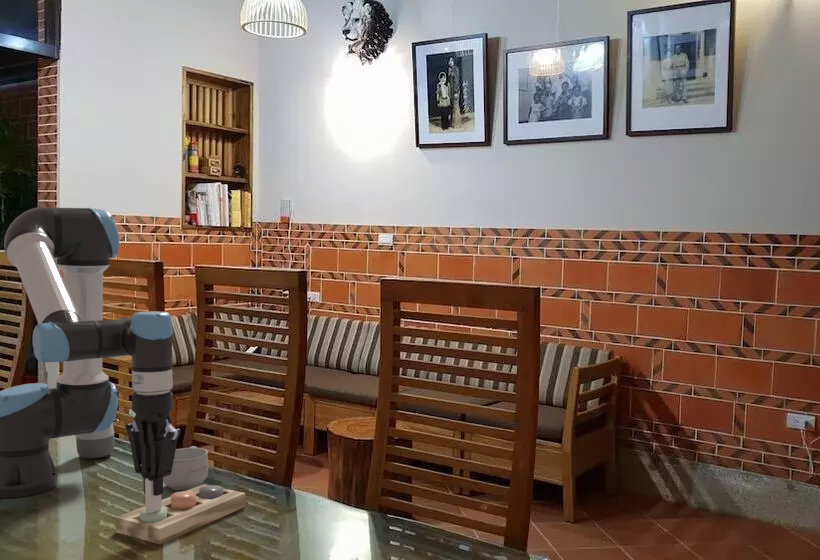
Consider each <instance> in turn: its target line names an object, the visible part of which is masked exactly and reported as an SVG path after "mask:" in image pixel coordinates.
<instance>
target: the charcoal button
mask: <svg viewBox="0 0 820 560" xmlns="http://www.w3.org/2000/svg"><path fill="white" fill-rule="evenodd" d="M223 488H224V487H223V486H221V485H215V484H214V485H211V484H210V486H205V487H202V488H200V489H199V497H202V498H207V499H211V500H212V499H215V498H217V497H220V496H222V495H223Z"/></svg>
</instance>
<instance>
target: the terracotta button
mask: <svg viewBox="0 0 820 560" xmlns="http://www.w3.org/2000/svg"><path fill="white" fill-rule="evenodd" d="M170 497H171V508H173V509H177V510H181V511H185V510H188V509H190V508H192V507H195V506H196V493H195V492H192V491H187V490H180V491H176V492H174V493H172V494H170Z"/></svg>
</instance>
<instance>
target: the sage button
mask: <svg viewBox="0 0 820 560" xmlns="http://www.w3.org/2000/svg"><path fill="white" fill-rule="evenodd" d="M165 518H167V509H165V508H162V509H160V510H158V511H155V512H153V513H148V512H145V509H144V510H142V511H141V512H140V521H144V522H148V523H152V524H153V523H156V522H158V521H160V520H163V519H165Z"/></svg>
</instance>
